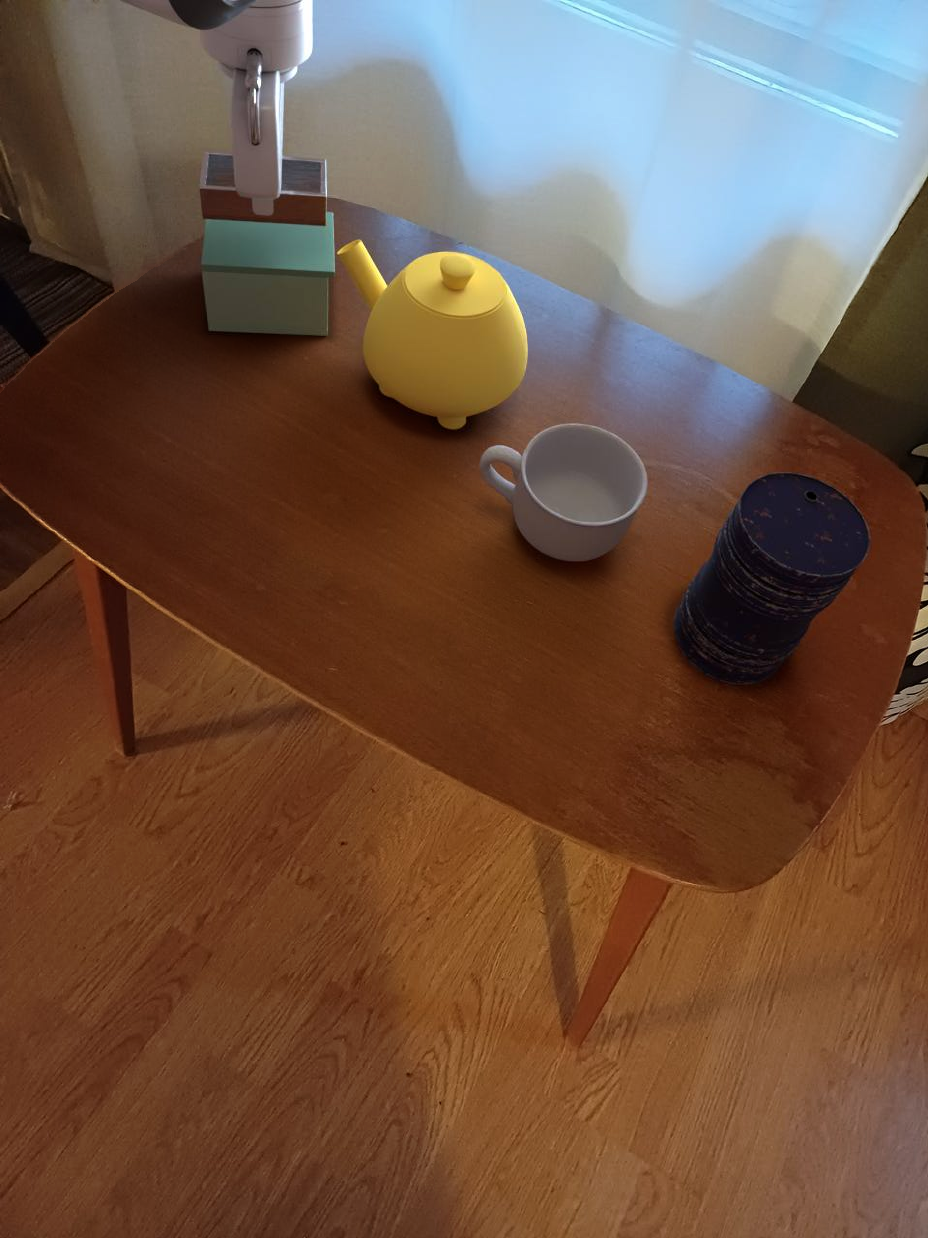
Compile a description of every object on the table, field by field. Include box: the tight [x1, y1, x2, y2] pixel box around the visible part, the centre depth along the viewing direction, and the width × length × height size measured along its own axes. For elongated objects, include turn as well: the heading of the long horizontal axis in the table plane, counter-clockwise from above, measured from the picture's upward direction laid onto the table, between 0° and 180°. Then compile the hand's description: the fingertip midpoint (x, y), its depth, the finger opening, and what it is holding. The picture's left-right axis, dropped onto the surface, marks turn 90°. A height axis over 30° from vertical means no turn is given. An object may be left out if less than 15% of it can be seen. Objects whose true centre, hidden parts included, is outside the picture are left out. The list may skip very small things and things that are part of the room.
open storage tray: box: [198, 149, 328, 226], centre depth 85 cm, size 11×6×3 cm, turn 95°
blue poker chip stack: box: [673, 471, 871, 686], centre depth 72 cm, size 10×10×15 cm
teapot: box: [336, 238, 529, 430], centre depth 86 cm, size 20×16×14 cm
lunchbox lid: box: [200, 211, 336, 279], centre depth 89 cm, size 12×10×1 cm
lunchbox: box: [201, 270, 329, 337], centre depth 92 cm, size 12×10×7 cm
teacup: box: [478, 423, 649, 562], centre depth 80 cm, size 14×11×8 cm
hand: (264, 186), depth 84 cm, fingers closed on open storage tray, 6 cm apart
